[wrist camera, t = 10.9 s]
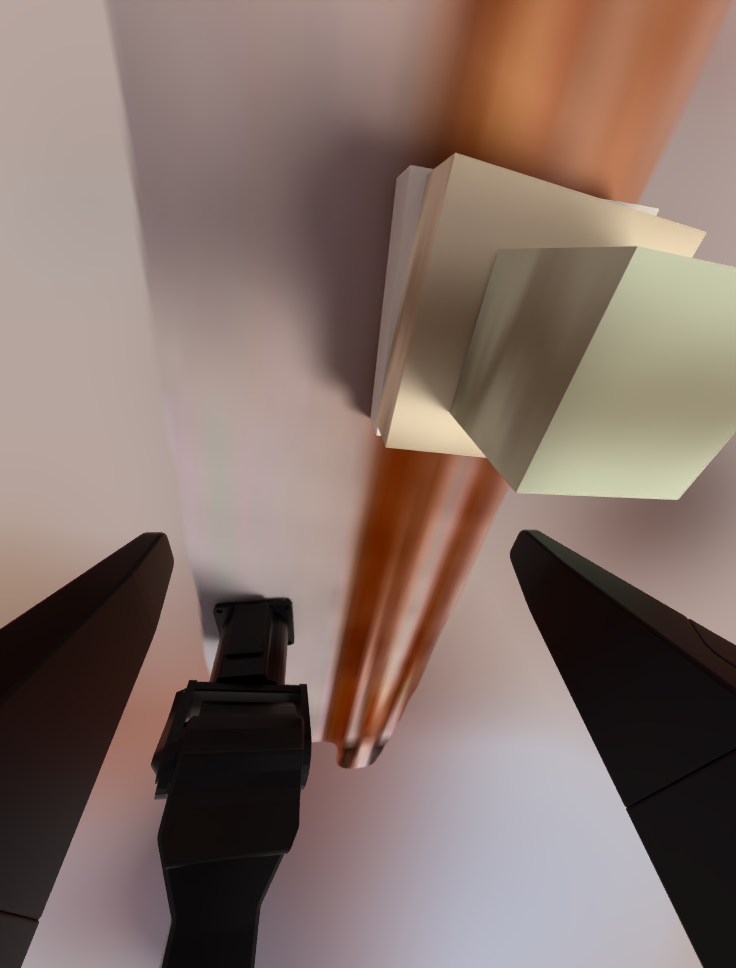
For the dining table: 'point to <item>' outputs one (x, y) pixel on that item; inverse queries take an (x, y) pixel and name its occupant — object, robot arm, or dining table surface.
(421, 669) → the dining table surface
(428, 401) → the top slab
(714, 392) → the sage cube
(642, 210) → the bottom slab
